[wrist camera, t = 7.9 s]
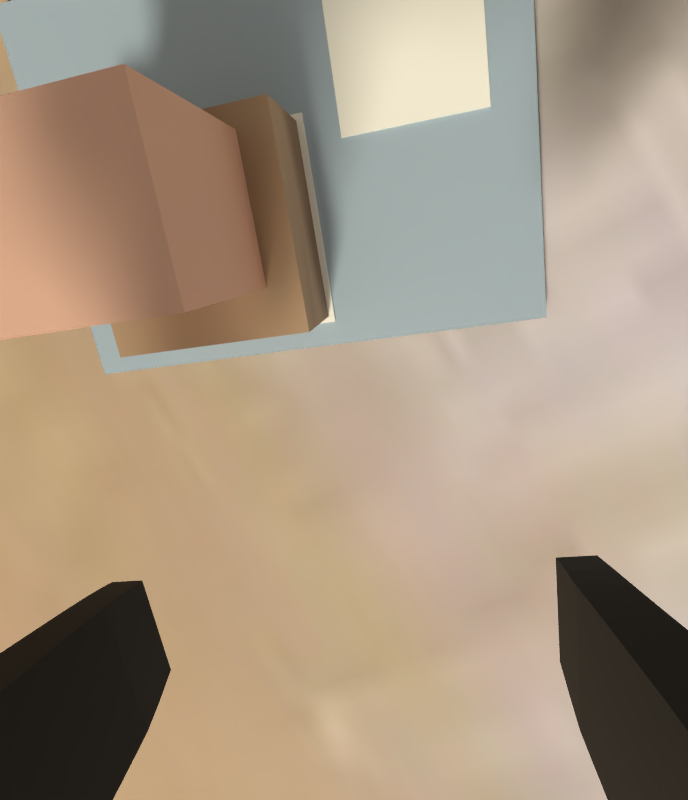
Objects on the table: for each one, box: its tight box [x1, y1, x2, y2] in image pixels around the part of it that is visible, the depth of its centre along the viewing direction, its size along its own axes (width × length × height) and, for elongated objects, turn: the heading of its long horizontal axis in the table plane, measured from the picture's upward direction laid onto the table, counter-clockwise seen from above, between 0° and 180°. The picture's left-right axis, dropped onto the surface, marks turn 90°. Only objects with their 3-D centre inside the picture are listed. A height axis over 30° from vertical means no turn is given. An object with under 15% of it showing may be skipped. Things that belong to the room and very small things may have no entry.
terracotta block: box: [0, 64, 267, 340], centre depth 11 cm, size 4×4×5 cm
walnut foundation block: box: [111, 94, 329, 358], centre depth 15 cm, size 6×6×3 cm
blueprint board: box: [0, 0, 546, 374], centre depth 16 cm, size 16×12×1 cm
